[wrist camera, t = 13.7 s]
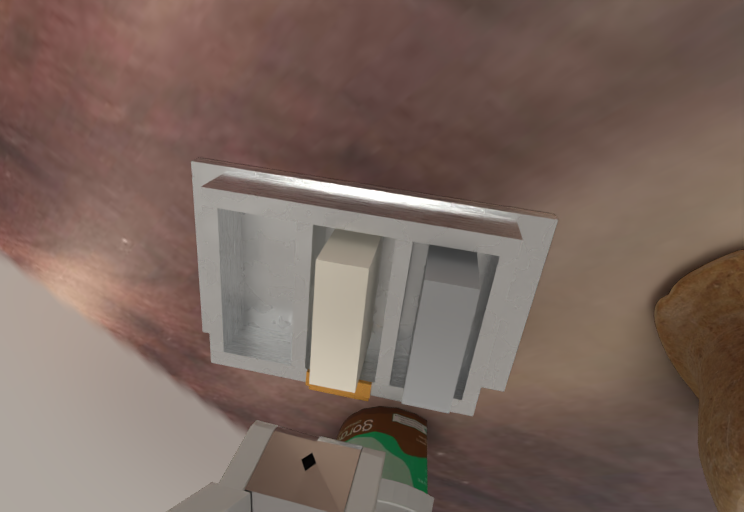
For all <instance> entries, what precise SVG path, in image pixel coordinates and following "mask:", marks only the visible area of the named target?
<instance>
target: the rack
mask: <svg viewBox="0 0 744 512" xmlns="http://www.w3.org/2000/svg"><path fill="white" fill-rule="evenodd" d="M191 167H192V181H193V196H194V210H195V225H196V240H197V254H198V269H199V283H200V298H201V312H202V327H203V332H207V333H210V349H211V363H216V364H221V365H226V366H231V367H236V368H241V369H246V370H250V371H255V372H260V373H265V374H270V375H275V376H280V377H284V378H289V379H294V380H299V381H304V382H306V385H308V386H309V389H311V390H316V391H320V392H325V393H330V394H335V395H340V396H345V397H349V398H354V399H359V400H364V401H368V400H369V398H370V395H372V396H377V397H382V398H386V399H391V400H396V401H401V402H402V397H403V391H404V384H405V377H406V371H407V364H408V358H409V351H410V345H411V339H412V334H413V328H414V323H415V318H416V312H417V307H418V301H419V296H420V290H421V285H422V279H423V274H424V269H425V263H426V258H427V252H428V247H429V244H431V245H437V246H443V247H448V248H454V249H460V250H466V251H472V252H477V258H478V269H479V280H480V293H479V297H478V301H477V305H476V309H475V313H474V317H473V321H472V325H471V329H470V333H469V337H468V341H467V345H466V349H465V353H464V357H463V361H462V365H461V369H460V372H459V376H458V380H457V384H456V388H455V392H454V396H453V400H452V404H451V408H450V412H454V413H459V414H464V415H469V416H473V414H474V411H475V407H476V404H477V400H478V397H479V393H480V390H481V387H483V388H488V389H493V390H498V391H503V392H504V390H505V387H506V384H507V381H508V377H509V374H510V371H511V368H512V365H513V362H514V358H515V355H516V352H517V349H518V346H519V343H520V339H521V336H522V333H523V330H524V327H525V324H526V320H527V317H528V314H529V311H530V308H531V305H532V301H533V298H534V295H535V292H536V289H537V286H538V282H539V279H540V276H541V273H542V270H543V267H544V263H545V260H546V257H547V254H548V251H549V248H550V244H551V241H552V238H553V235H554V232H555V229H556V225H557V222H558V219H557V217H556V215H555V214H550V213H544V212H538V211H531V210H525V209H519V208H513V207H506V206H500V205H494V204H487V203H481V202H475V201H469V200H462V199H456V198H450V197H443V196H437V195H431V194H425V193H418V192H412V191H406V190H399V189H393V188H387V187H381V186H374V185H368V184H362V183H356V182H349V181H343V180H337V179H330V178H324V177H318V176H312V175H305V174H299V173H293V172H286V171H280V170H274V169H268V168H261V167H255V166H249V165H242V164H236V163H230V162H224V161H217V160H211V159H205V158H197V159H194V160H192V161H191ZM335 228H337V229H343V230H349V231H354V232H360V233H366V234H372V235H378V236H383V244H382V252H381V260H380V268H379V276H378V284H377V292H376V300H375V308H374V316H373V324H372V332H371V339H370V342H369V346H368V349H367V353H366V356H365V360H364V363H363V367H362V370H361V374H360V377H359V381H358V384H357V388H356V391H355V393H352V392H347V391H342V390H337V389H332V388H327V387H322V386H317V385H312V384H309V377H310V358H311V340H312V321H313V303H314V284H315V265H316V258H317V257H318V255H319V254H320V252H321V250H322V249H323V247H324V246H325V244H326V243H327V241H328V239H329V238H330V236H331V235H332V233H333V231H334V230H335Z"/></svg>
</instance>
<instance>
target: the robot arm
mask: <svg viewBox="0 0 744 512" xmlns="http://www.w3.org/2000/svg"><path fill="white" fill-rule="evenodd" d="M385 454H386V452H382V451H378V450H374V449H370V448H366V447H363V446H360V445H356V444H351V443H347V442H343V441H338V440H334V439H330V438H325V437H321V436H320V437H317V436H313V435H310V434H306V433H303V432H299V431H295V430H292V429H288V428H285V427H281V426H277V425H273V424H270V423H266V422H262V421H258V420H256V421H255V422H254V423H253V424H252V425H251V427H250V428H249V430H248V432H247V434H246V436H245V437H244V439H243V441H242V443H241V445H240V446H239V448H238V450H237V452H236V453H235V455H234V457H233V459H232V460H231V462H230V464H229V466H228V468H227V469H226V471H225V473H224V475H223V476H222V479H221V480H220V482H219V484H218V483H213V482H211V483H210V484H208V485H207V486H205V487H204V488H202V489H201V490H199V491H198V492H196V493H194V494H193V495H191V496H190V497H188V498H187V499H185V500H184V501H182V502H181V503H179V504H177V505H176V506H174V507H173V508H171V509H170V510H168V511H167V512H375V511H376V505H377V500H378V494H379V488H380V483H381V477H382V471H383V466H384V460H385Z"/></svg>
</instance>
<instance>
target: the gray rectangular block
mask: <svg viewBox="0 0 744 512" xmlns="http://www.w3.org/2000/svg"><path fill="white" fill-rule="evenodd" d="M479 293H480V280H479V269H478V258H477V252H472V251H466V250H460V249H454V248H448V247H443V246H437V245H431V244H429V247H428V252H427V258H426V263H425V269H424V274H423V279H422V285H421V290H420V296H419V301H418V307H417V312H416V318H415V323H414V328H413V334H412V339H411V345H410V351H409V358H408V364H407V371H406V377H405V384H404V391H403V397H402V404H406V405H410V406H415V407H420V408H425V409H430V410H435V411H439V412H444V413H449V412H450V408H451V404H452V400H453V396H454V392H455V388H456V384H457V380H458V376H459V372H460V369H461V365H462V361H463V357H464V353H465V349H466V345H467V341H468V337H469V333H470V329H471V325H472V321H473V317H474V313H475V309H476V305H477V301H478V297H479Z"/></svg>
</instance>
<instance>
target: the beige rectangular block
mask: <svg viewBox="0 0 744 512" xmlns="http://www.w3.org/2000/svg"><path fill="white" fill-rule="evenodd" d="M382 244H383V236H378V235H372V234H366V233H360V232H354V231H349V230H343V229H337V228H335V230H334V231H333V233H332V235H331V236H330V238H329V239H328V241H327V243H326V244H325V246H324V247H323V249H322V250H321V252H320V254H319V255H318V257H317V258H316V265H315V284H314V303H313V321H312V340H311V358H310V377H309V384H312V385H317V386H322V387H327V388H332V389H337V390H342V391H347V392H352V393H355V391H356V388H357V384H358V381H359V377H360V374H361V370H362V367H363V363H364V360H365V356H366V353H367V349H368V346H369V342H370V339H371V332H372V324H373V316H374V308H375V300H376V292H377V284H378V276H379V268H380V260H381V252H382Z"/></svg>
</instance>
